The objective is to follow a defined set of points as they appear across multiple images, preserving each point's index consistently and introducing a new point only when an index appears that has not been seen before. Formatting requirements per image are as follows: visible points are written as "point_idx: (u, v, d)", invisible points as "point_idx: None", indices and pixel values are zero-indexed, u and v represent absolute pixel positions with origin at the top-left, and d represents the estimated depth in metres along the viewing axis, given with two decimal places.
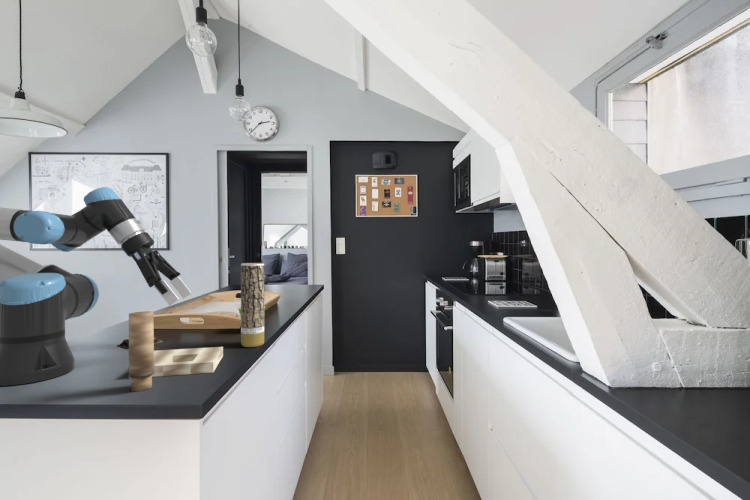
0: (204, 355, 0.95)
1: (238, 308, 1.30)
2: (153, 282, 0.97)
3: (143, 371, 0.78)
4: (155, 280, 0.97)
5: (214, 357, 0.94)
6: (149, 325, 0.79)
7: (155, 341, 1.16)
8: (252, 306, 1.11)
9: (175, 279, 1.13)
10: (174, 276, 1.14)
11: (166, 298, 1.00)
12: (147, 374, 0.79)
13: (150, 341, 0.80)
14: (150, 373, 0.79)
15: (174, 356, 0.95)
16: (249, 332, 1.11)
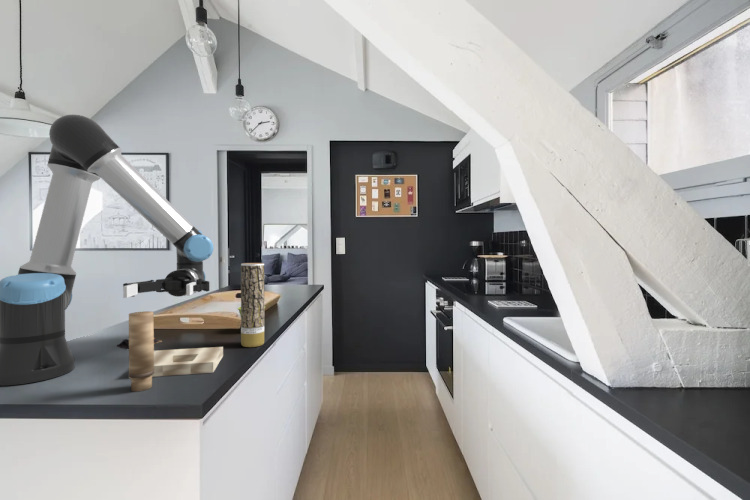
0: (204, 355, 0.95)
1: (238, 308, 1.30)
2: (205, 285, 0.98)
3: (143, 371, 0.78)
4: (206, 288, 0.99)
5: (214, 357, 0.94)
6: (149, 325, 0.79)
7: (155, 341, 1.16)
8: (252, 306, 1.11)
9: (137, 290, 0.94)
10: None
11: (191, 285, 0.93)
12: (147, 374, 0.79)
13: (150, 341, 0.80)
14: (150, 373, 0.79)
15: (174, 356, 0.95)
16: (249, 332, 1.11)
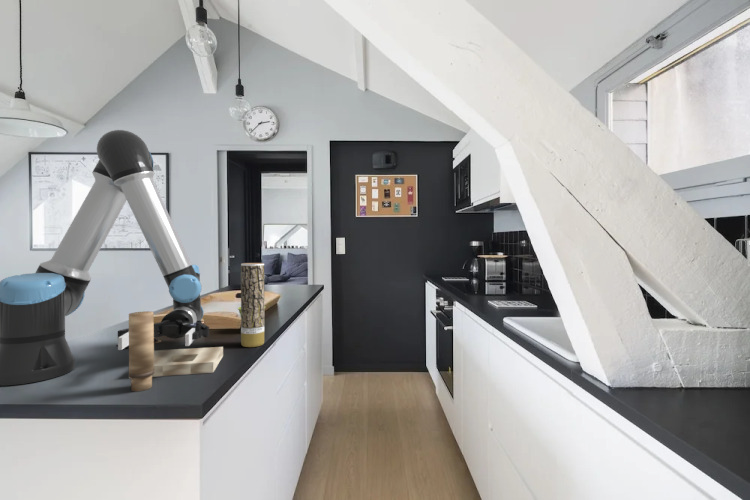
0: (204, 355, 0.95)
1: (238, 308, 1.30)
2: (204, 331, 0.94)
3: (143, 371, 0.78)
4: (206, 334, 0.94)
5: (214, 357, 0.94)
6: (149, 325, 0.79)
7: (154, 341, 1.16)
8: (252, 306, 1.11)
9: None
10: None
11: (190, 334, 0.88)
12: (147, 374, 0.79)
13: (150, 341, 0.80)
14: (150, 373, 0.79)
15: (174, 356, 0.95)
16: (249, 332, 1.11)
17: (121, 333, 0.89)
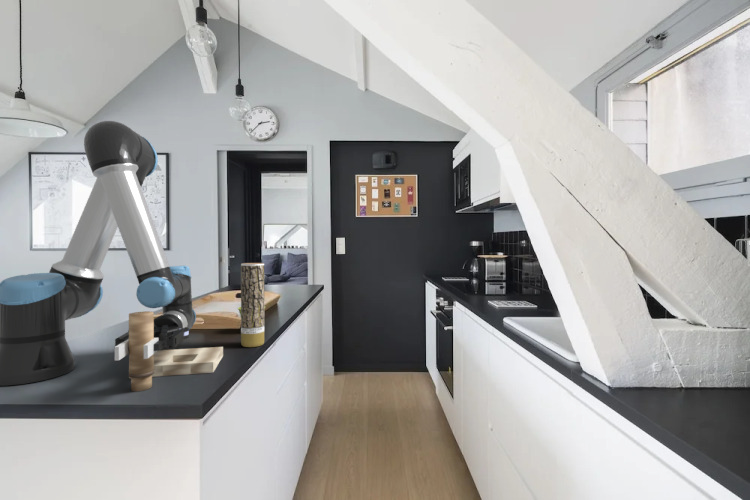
0: (204, 355, 0.95)
1: (238, 308, 1.30)
2: (169, 341, 0.83)
3: (143, 371, 0.78)
4: (171, 344, 0.83)
5: (214, 357, 0.94)
6: (149, 325, 0.79)
7: None
8: (252, 306, 1.11)
9: None
10: None
11: (151, 344, 0.77)
12: (147, 374, 0.79)
13: None
14: (150, 373, 0.79)
15: (174, 356, 0.95)
16: (249, 332, 1.11)
17: (121, 341, 0.81)
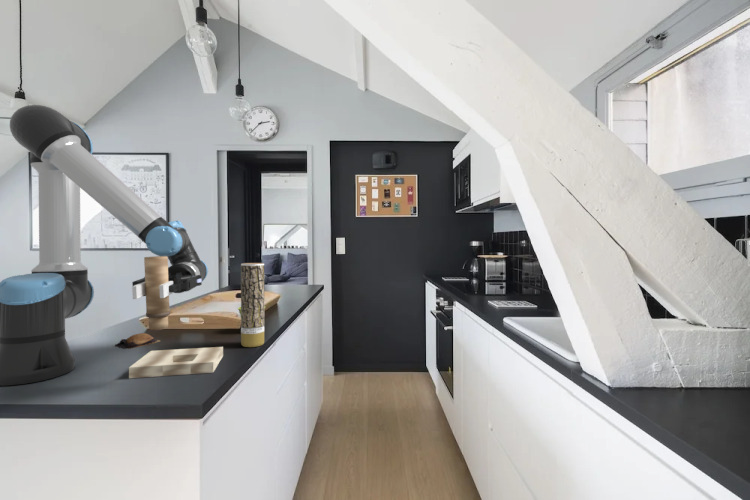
0: (204, 355, 0.95)
1: (238, 308, 1.30)
2: (183, 285, 0.87)
3: (159, 311, 0.82)
4: (185, 288, 0.87)
5: (214, 357, 0.94)
6: (164, 268, 0.83)
7: (153, 341, 1.17)
8: (252, 306, 1.11)
9: None
10: None
11: (166, 286, 0.81)
12: (163, 314, 0.83)
13: None
14: (166, 314, 0.84)
15: (174, 356, 0.95)
16: (249, 332, 1.11)
17: (138, 284, 0.85)
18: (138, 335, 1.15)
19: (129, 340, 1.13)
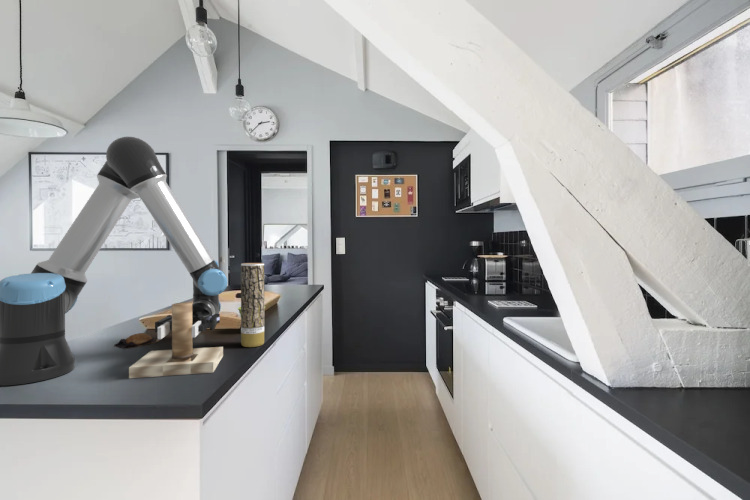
0: (204, 355, 0.95)
1: (238, 308, 1.30)
2: (210, 324, 0.96)
3: (184, 353, 0.91)
4: (211, 327, 0.96)
5: (214, 357, 0.94)
6: (189, 314, 0.92)
7: (152, 340, 1.17)
8: (252, 306, 1.11)
9: (169, 329, 0.93)
10: None
11: (197, 326, 0.91)
12: (188, 356, 0.92)
13: (190, 328, 0.92)
14: (190, 355, 0.92)
15: None
16: (249, 332, 1.11)
17: (159, 324, 0.94)
18: (137, 335, 1.15)
19: (128, 340, 1.14)
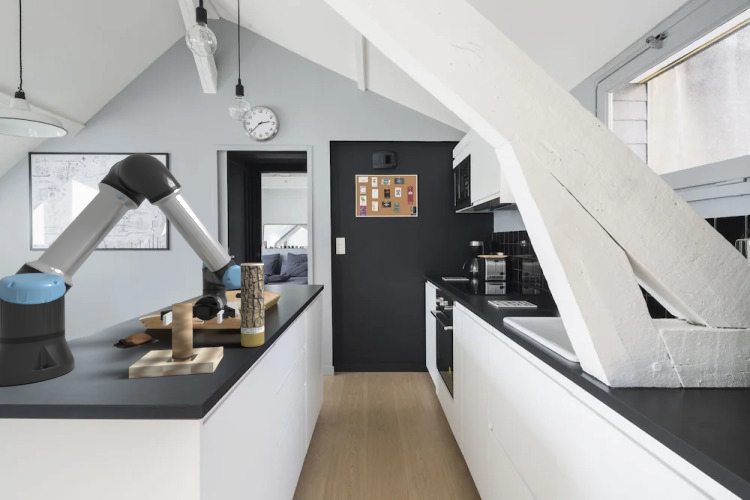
0: (204, 355, 0.95)
1: (238, 308, 1.30)
2: (231, 313, 1.11)
3: (184, 353, 0.91)
4: (232, 315, 1.11)
5: (214, 357, 0.94)
6: (189, 314, 0.92)
7: (151, 340, 1.17)
8: (252, 306, 1.11)
9: None
10: None
11: (221, 314, 1.06)
12: (188, 356, 0.92)
13: (190, 328, 0.92)
14: (190, 355, 0.92)
15: None
16: (248, 332, 1.11)
17: (163, 313, 1.07)
18: (137, 335, 1.15)
19: (128, 340, 1.14)
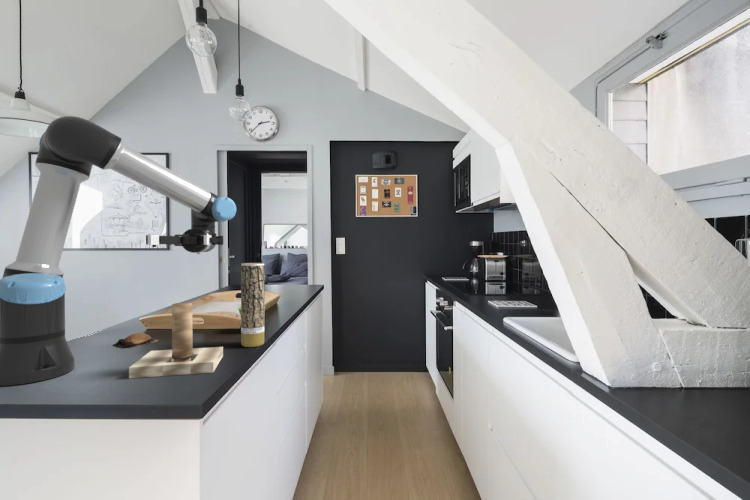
0: (204, 355, 0.95)
1: (238, 308, 1.30)
2: (219, 239, 1.08)
3: (184, 353, 0.91)
4: (220, 242, 1.09)
5: (214, 357, 0.94)
6: (189, 314, 0.92)
7: (151, 340, 1.17)
8: (252, 306, 1.11)
9: (158, 241, 1.04)
10: None
11: (208, 236, 1.03)
12: (188, 356, 0.92)
13: (190, 328, 0.92)
14: (190, 355, 0.92)
15: None
16: (249, 332, 1.11)
17: None
18: (136, 335, 1.15)
19: (127, 340, 1.14)
